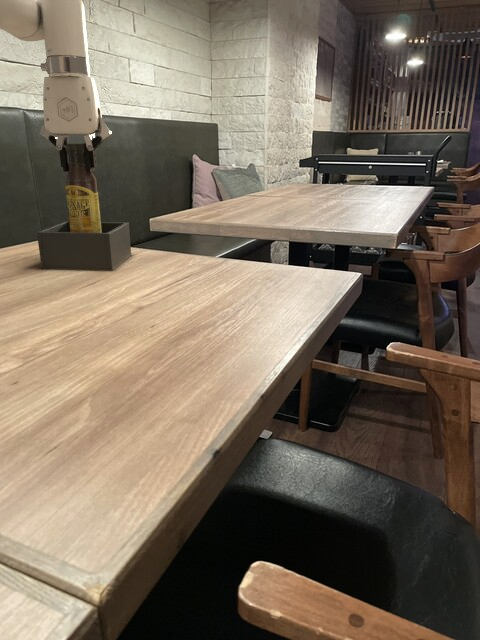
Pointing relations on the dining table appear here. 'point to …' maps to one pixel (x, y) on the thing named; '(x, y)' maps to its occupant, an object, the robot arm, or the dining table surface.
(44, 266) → the tub
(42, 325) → the dining table surface
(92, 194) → the sauce bottle
